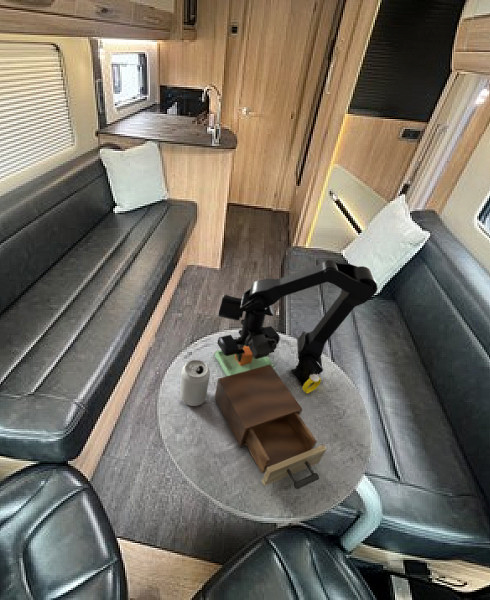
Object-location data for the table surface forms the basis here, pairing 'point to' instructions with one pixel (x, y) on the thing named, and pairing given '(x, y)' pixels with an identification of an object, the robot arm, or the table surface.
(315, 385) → the watch
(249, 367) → the tray
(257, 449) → the drawer
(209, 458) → the table surface
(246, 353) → the cube
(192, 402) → the can
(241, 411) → the cabinet
